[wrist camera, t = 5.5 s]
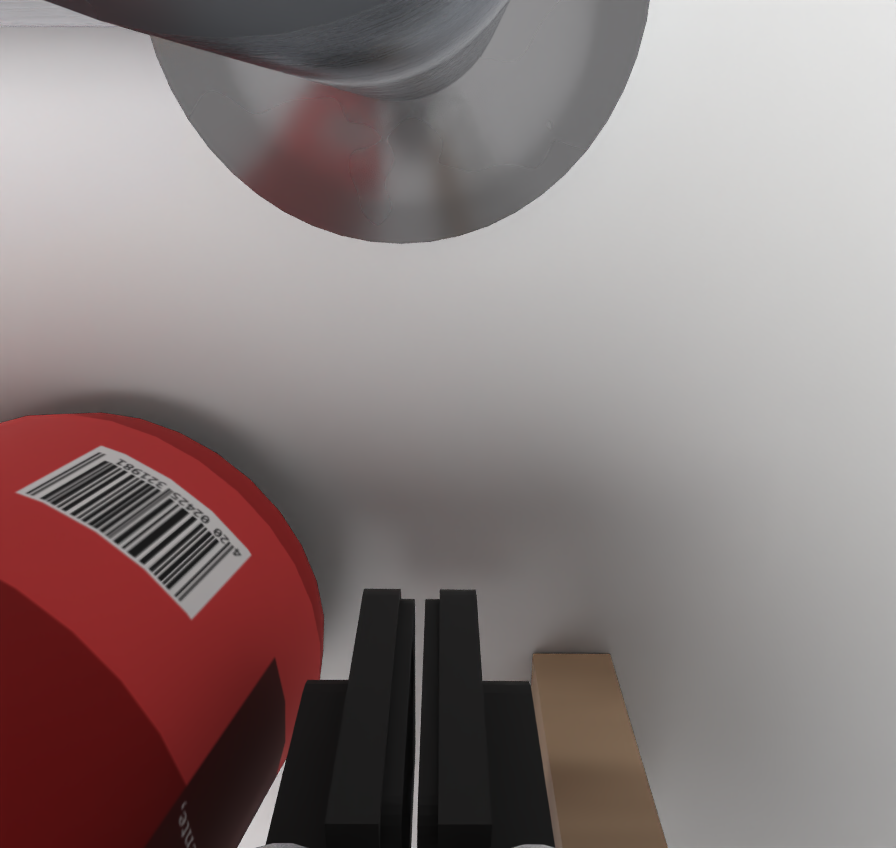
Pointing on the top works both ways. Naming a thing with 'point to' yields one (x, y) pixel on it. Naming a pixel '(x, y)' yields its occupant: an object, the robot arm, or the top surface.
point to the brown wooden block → (591, 756)
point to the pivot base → (419, 125)
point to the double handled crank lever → (305, 35)
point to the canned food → (142, 637)
